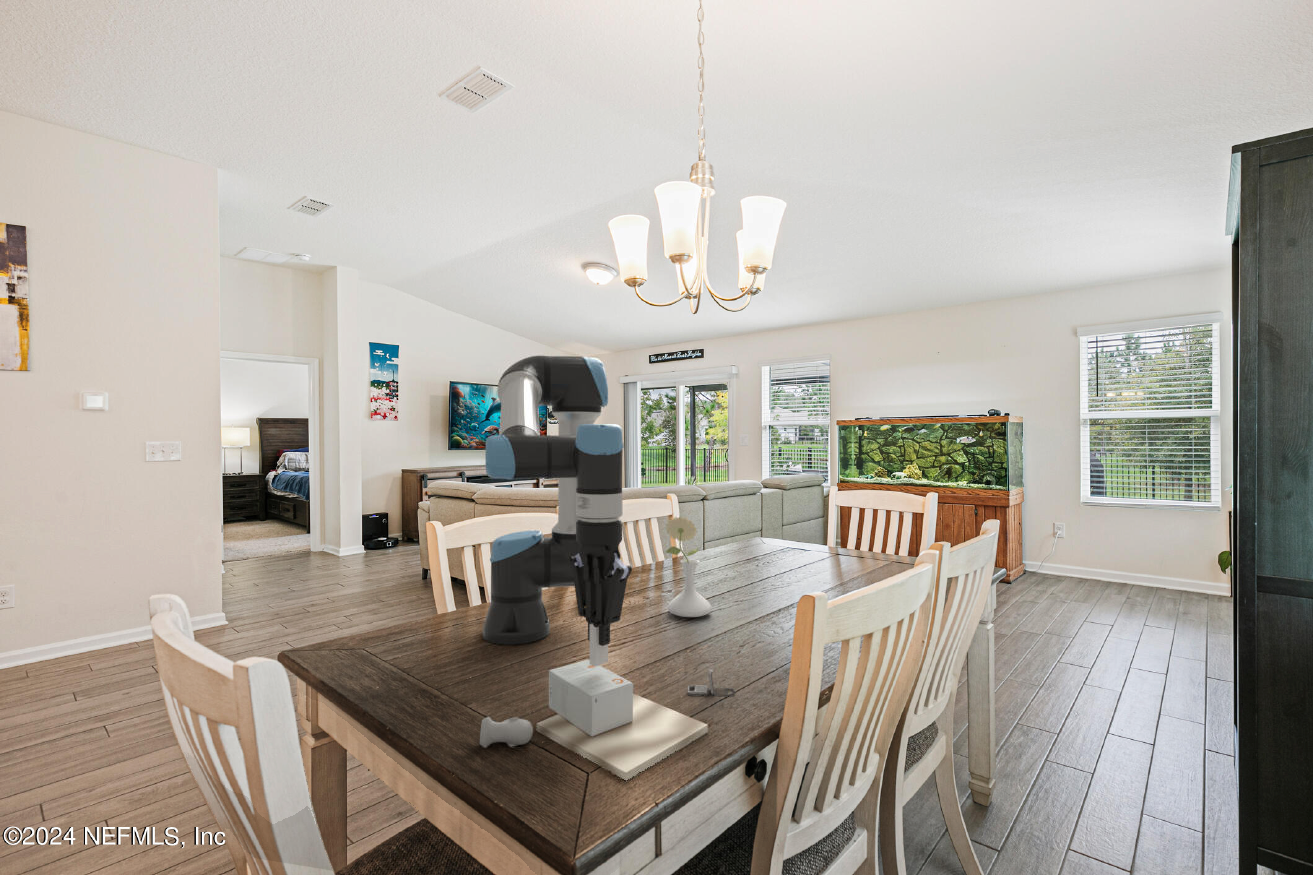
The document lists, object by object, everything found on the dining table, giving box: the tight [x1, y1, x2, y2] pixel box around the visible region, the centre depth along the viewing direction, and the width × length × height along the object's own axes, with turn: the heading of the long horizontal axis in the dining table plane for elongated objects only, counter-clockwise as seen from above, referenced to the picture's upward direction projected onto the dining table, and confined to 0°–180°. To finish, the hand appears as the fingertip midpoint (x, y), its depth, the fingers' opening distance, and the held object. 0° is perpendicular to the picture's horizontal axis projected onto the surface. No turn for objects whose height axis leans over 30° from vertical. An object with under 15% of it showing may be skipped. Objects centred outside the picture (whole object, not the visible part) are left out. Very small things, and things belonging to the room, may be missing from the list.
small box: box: [548, 659, 634, 737], centre depth 97 cm, size 8×6×13 cm
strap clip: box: [687, 668, 736, 697], centre depth 109 cm, size 8×3×4 cm, turn 87°
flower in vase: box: [665, 516, 713, 618], centre depth 155 cm, size 13×11×25 cm
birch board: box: [536, 693, 709, 781], centre depth 94 cm, size 20×18×1 cm
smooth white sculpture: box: [479, 716, 534, 749], centre depth 91 cm, size 4×8×5 cm
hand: (598, 662), depth 98 cm, fingers closed
